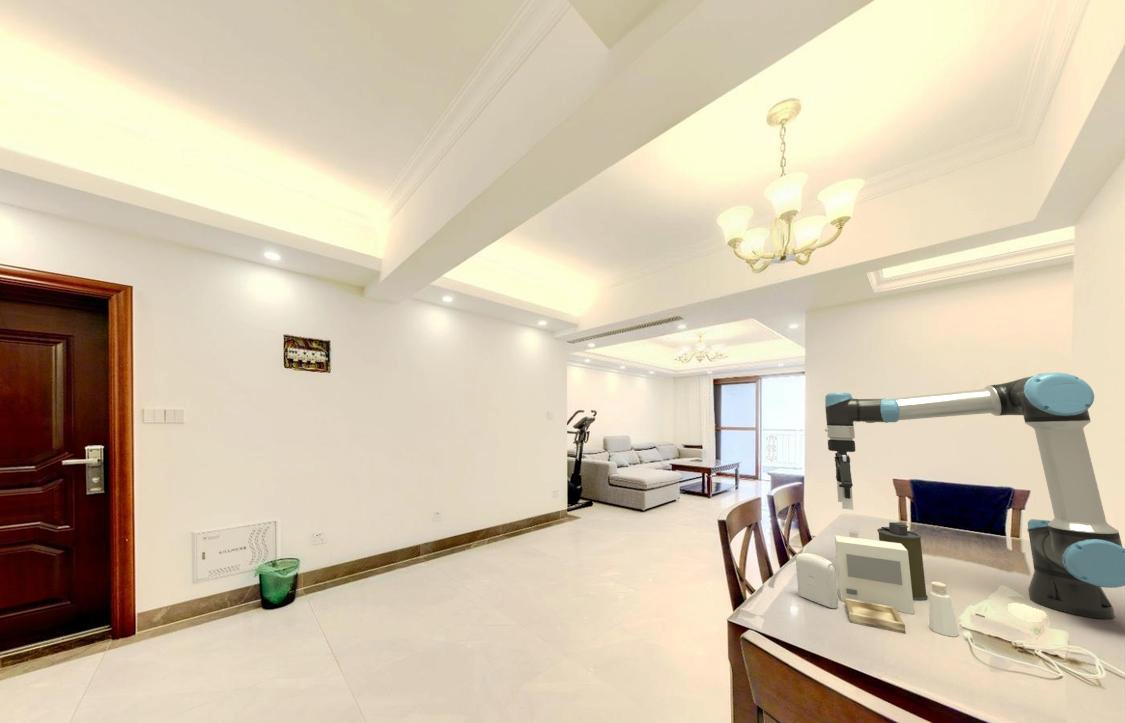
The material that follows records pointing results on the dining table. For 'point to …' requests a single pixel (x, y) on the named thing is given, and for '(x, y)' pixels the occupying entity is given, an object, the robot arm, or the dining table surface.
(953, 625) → the pepper shaker
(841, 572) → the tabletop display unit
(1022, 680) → the dining table surface
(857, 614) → the tray
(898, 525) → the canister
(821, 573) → the photo printer
